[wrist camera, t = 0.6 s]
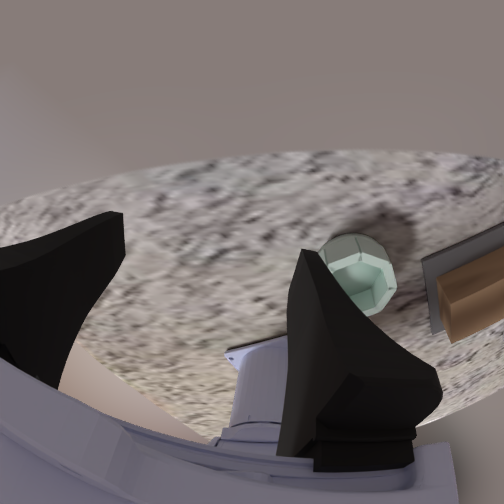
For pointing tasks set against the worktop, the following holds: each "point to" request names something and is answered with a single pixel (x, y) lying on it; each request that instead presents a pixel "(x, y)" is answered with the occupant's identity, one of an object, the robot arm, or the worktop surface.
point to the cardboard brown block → (472, 296)
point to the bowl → (361, 270)
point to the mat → (456, 265)
